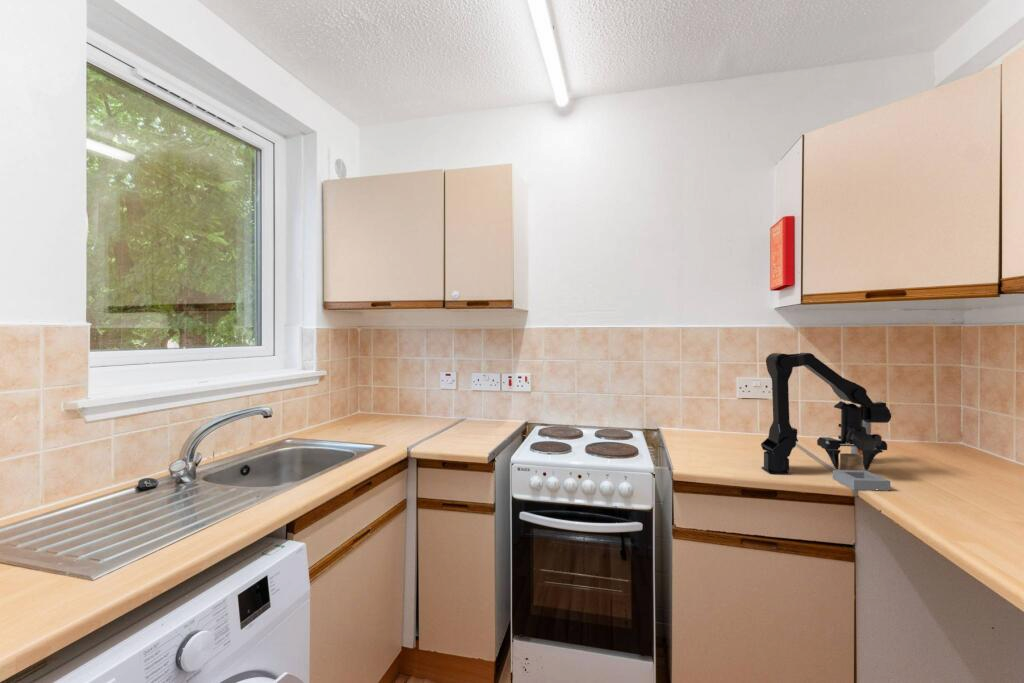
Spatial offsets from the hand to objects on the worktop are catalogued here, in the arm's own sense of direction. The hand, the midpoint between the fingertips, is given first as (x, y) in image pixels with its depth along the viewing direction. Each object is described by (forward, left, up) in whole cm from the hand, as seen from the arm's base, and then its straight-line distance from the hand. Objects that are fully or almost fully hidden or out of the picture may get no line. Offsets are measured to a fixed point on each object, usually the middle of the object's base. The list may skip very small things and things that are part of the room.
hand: (851, 469), depth 148 cm
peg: (0, 0, -1) cm, 1 cm away
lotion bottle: (+12, +14, -1) cm, 18 cm away
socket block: (-5, -12, -1) cm, 13 cm away
